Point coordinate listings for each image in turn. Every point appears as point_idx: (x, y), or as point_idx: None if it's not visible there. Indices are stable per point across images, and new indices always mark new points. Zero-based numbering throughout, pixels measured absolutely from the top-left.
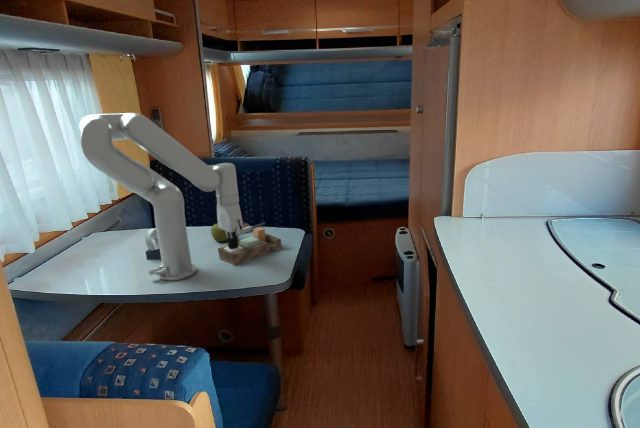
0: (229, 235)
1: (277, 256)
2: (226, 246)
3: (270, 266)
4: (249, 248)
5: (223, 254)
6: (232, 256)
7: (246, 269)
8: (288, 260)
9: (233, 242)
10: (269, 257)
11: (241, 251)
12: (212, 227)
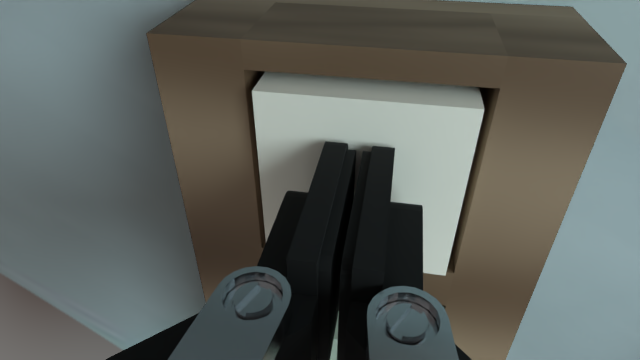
0: (361, 346)
1: (163, 306)
2: (538, 184)
3: (10, 181)
4: (221, 271)
5: (438, 28)
6: (161, 25)
7: (38, 21)
8: (57, 294)
9: (268, 237)
10: (181, 276)
11: (195, 179)
12: None
